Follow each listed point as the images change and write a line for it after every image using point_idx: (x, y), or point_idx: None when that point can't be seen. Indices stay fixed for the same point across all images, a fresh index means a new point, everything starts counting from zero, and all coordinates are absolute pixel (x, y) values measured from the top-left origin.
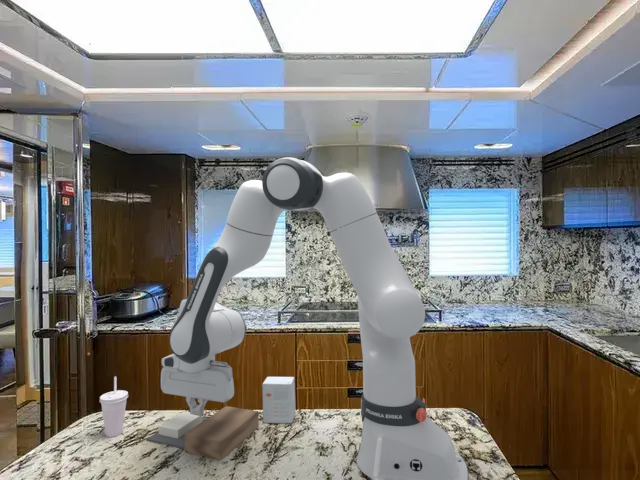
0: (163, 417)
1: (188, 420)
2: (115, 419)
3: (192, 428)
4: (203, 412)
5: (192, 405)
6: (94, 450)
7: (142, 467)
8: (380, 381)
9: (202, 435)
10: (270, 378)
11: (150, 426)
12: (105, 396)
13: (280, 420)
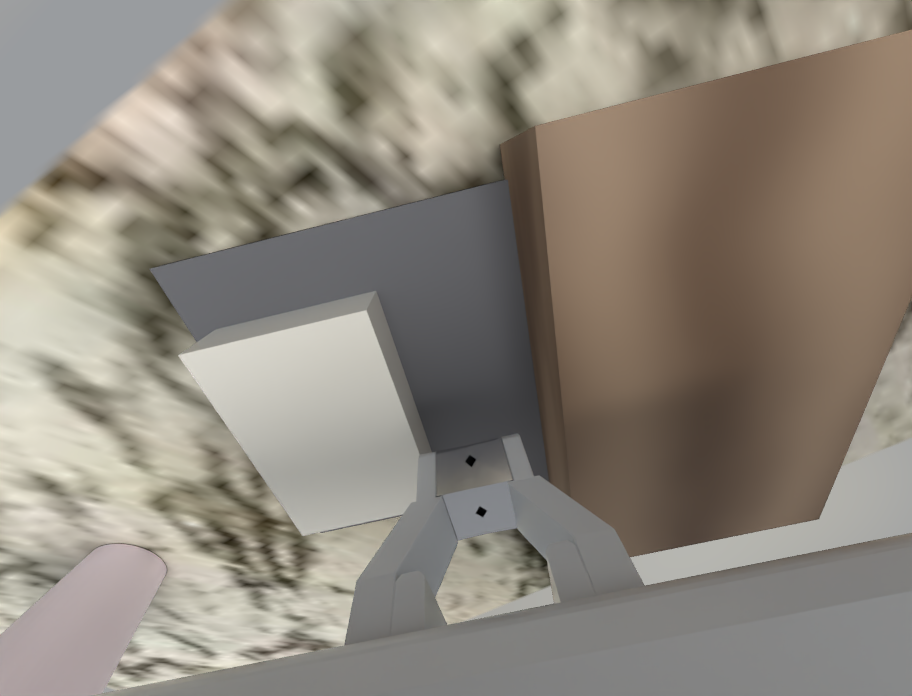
0: (64, 370)
1: (378, 421)
2: (110, 674)
3: (406, 378)
4: (521, 441)
5: (446, 548)
6: (243, 623)
7: (492, 586)
8: None
9: (682, 535)
10: None
11: (163, 463)
12: None
13: None
